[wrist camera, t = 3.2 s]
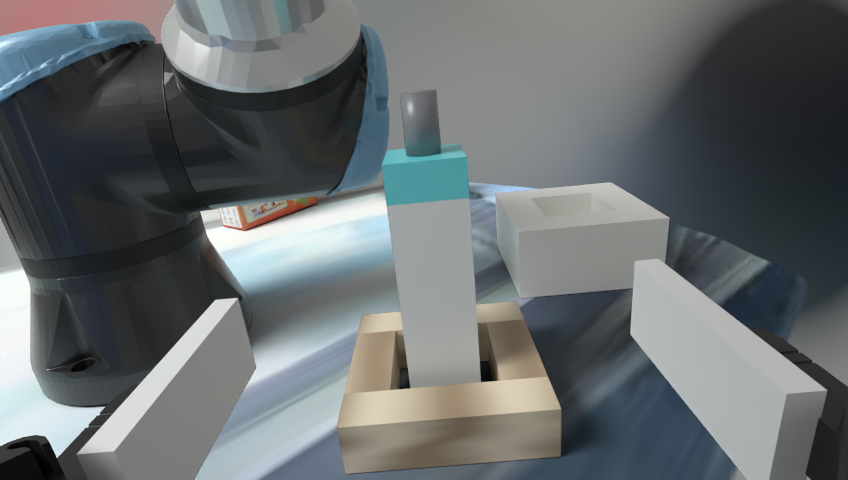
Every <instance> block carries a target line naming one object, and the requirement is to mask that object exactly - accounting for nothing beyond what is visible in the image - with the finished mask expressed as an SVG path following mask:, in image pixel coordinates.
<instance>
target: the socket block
mask: <svg viewBox="0 0 848 480" xmlns="http://www.w3.org/2000/svg"><path fill="white" fill-rule="evenodd" d="M495 196H496V220H497V243H498V249H499V251H500V253H501V255H502V258H503V260H504V262H505V265H506V267H507V269H508V272H509V274H510V276H511V278H512V281H513V283H514V285H515V288H516V290H517V292H518V295H519V297H520V298H529V297H540V296H552V295H563V294H574V293H585V292H596V291H607V290H619V289H630V288H633V281H634V265H635V261H639V260H649V259H660V260H661V261H662V262H663V263H665V259H666V249H667V238H668V228H669V217H667V216H666V215H664V214H662V213H661V212H659V211H657V210H656V209H654V208H652V207H651V206H649V205H647V204H646V203H644V202H642V201H641V200H639V199H638V198H636V197H634V196H633V195H631V194H629V193H628V192H626V191H624V190H623V189H621V188H619V187H618V186H616V185H614V184H613V183H611V182H610V183H599V184H589V185H579V186H568V187H557V188H547V189H536V190H526V191H515V192H505V193H495Z"/></svg>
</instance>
